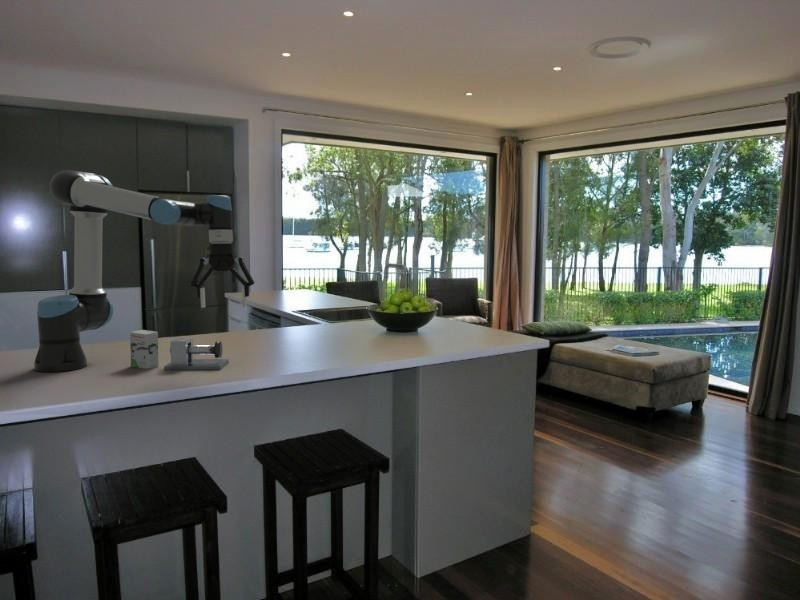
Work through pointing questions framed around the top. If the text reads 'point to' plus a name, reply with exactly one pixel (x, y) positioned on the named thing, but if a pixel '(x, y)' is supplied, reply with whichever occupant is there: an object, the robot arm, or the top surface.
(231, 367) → the top surface
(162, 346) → the top surface
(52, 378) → the top surface
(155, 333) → the ink box
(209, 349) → the shaft
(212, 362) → the rail
